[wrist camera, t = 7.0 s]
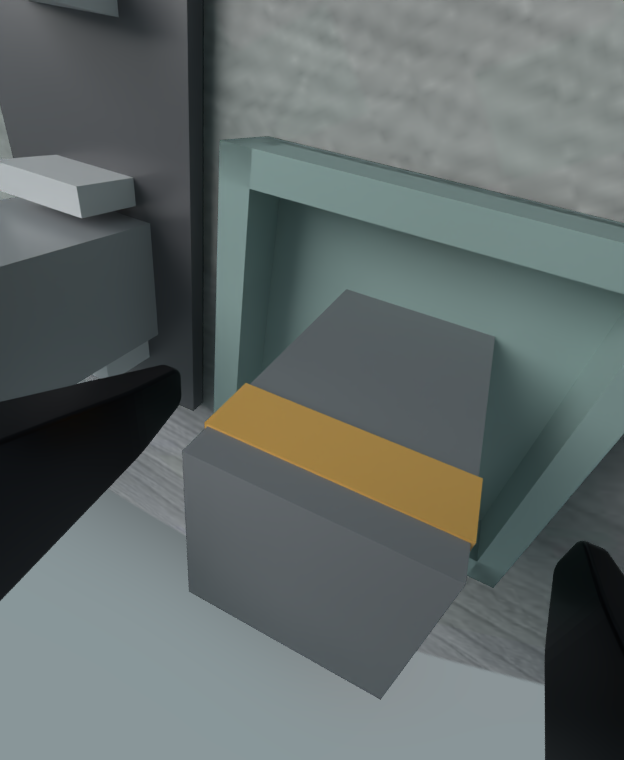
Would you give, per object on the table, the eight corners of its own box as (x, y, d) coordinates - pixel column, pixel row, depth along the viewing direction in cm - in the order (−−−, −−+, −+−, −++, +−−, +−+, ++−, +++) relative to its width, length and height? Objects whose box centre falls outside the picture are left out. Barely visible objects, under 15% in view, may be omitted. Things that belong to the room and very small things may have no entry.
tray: (707, 243, 8) (756, 276, 7) (496, 531, 14) (493, 587, 12) (268, 136, 11) (219, 140, 9) (244, 421, 16) (212, 456, 15)
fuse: (497, 335, 10) (471, 583, 5) (441, 450, 13) (382, 702, 7) (344, 286, 11) (179, 447, 6) (320, 401, 14) (187, 591, 8)
